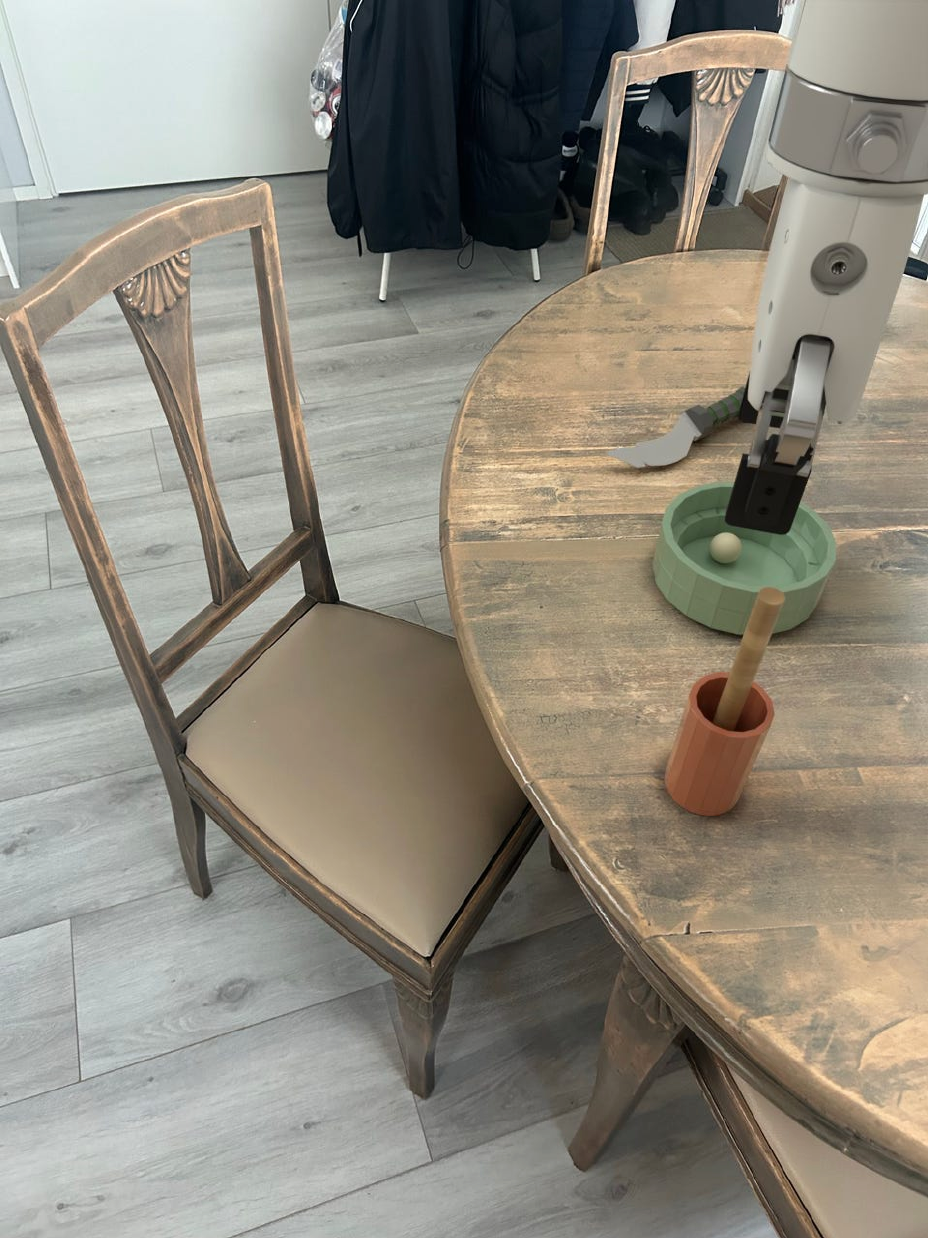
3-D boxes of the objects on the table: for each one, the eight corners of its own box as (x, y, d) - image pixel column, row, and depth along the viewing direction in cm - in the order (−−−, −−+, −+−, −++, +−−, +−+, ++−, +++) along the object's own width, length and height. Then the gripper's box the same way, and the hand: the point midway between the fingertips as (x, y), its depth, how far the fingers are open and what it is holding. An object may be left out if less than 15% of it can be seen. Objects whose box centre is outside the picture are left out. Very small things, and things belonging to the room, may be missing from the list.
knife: (636, 474, 92) (609, 437, 93) (619, 494, 96) (594, 458, 97) (776, 407, 102) (751, 374, 103) (756, 428, 105) (732, 396, 106)
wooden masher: (724, 792, 67) (799, 609, 53) (701, 798, 67) (770, 615, 52) (705, 761, 69) (773, 576, 55) (683, 767, 69) (745, 582, 54)
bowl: (849, 619, 81) (872, 572, 77) (699, 655, 78) (713, 607, 74) (762, 517, 92) (777, 470, 87) (625, 544, 88) (635, 497, 84)
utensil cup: (753, 805, 67) (790, 726, 60) (685, 824, 66) (714, 746, 59) (717, 746, 71) (747, 665, 64) (652, 763, 70) (675, 682, 63)
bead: (743, 566, 85) (750, 543, 83) (715, 572, 85) (722, 548, 83) (728, 546, 87) (735, 523, 85) (701, 552, 87) (707, 529, 84)
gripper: (995, 218, 29) (832, 591, 41) (947, 76, 41) (831, 400, 53) (763, 191, 30) (672, 560, 43) (781, 62, 42) (705, 380, 54)
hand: (760, 471), depth 48 cm, fingers open, 9 cm apart
